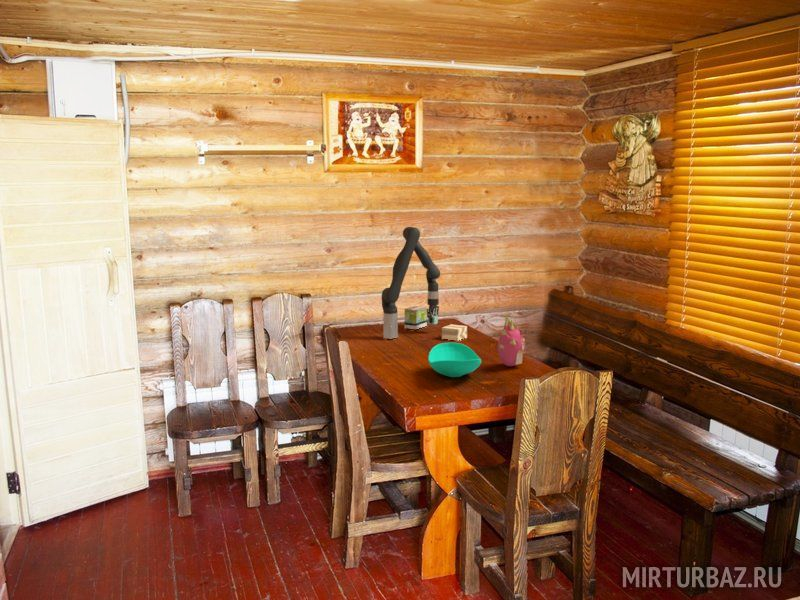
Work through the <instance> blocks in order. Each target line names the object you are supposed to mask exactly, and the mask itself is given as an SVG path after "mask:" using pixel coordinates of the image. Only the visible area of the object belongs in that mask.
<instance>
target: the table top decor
mask: <svg viewBox="0 0 800 600" xmlns="http://www.w3.org/2000/svg"><path fill="white" fill-rule="evenodd" d="M427 357H428V363H429V365H430V367H431V368H432V369H433V370H434V371H436V372H437V373H439V374H441V375H443V376H446V377H450V378H461V377H462V376H465V375H467V374H471V373H472V372H474V371H475V370H476V369H478V368H479V367H480V365H481V364H482V359H481V358H480V356H478V354H477V353H476V352H475V351H474V350H473V349H471V348H470V347H469V346H468V345H465V344H464V343H460V342H459V343H458V342H441V343H438V344H436V345H435V346H433V347H432V348H431V350H430V351H429V353H428V356H427Z"/></svg>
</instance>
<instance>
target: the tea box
mask: <svg viewBox="0 0 800 600" xmlns="http://www.w3.org/2000/svg"><path fill="white" fill-rule="evenodd" d="M427 309H428V308H427V306H422V305H414V306H413V305H412V306H411V307H407V308H404V329H405V328H410V329H419V328H422V327H425V326H427V327H428V317H427ZM425 328H426V327H425ZM422 329H423V328H422ZM419 330H420V329H419Z"/></svg>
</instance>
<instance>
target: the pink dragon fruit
mask: <svg viewBox="0 0 800 600" xmlns="http://www.w3.org/2000/svg"><path fill="white" fill-rule="evenodd" d="M504 317H505V319H504V320H505V321H504V327H503V328H502V329H503V330H502V331H501V333H500V335H499V336H498V337H499V338H498V342H497V352H498V356H499V359H500V361H501V362H502V364H503V365H504V366H507V367H514V366H516V365H521V364H523V358H524V357H523V356H524V350H525V348H526V344H525V337H523V335H524V328H522V331H520V330H518V327H519V326H518V324H517V323H516V324H515V322H514V321H513V320H512V319H511V320H510V318H509V317H508V313H507V312H506V313H505V315H504Z"/></svg>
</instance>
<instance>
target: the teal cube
mask: <svg viewBox="0 0 800 600" xmlns="http://www.w3.org/2000/svg"><path fill="white" fill-rule="evenodd" d="M431 316H432V314H431ZM438 322H439V316H438V315H437V316H433V323H429V317H427V325H437V324H438Z"/></svg>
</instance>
